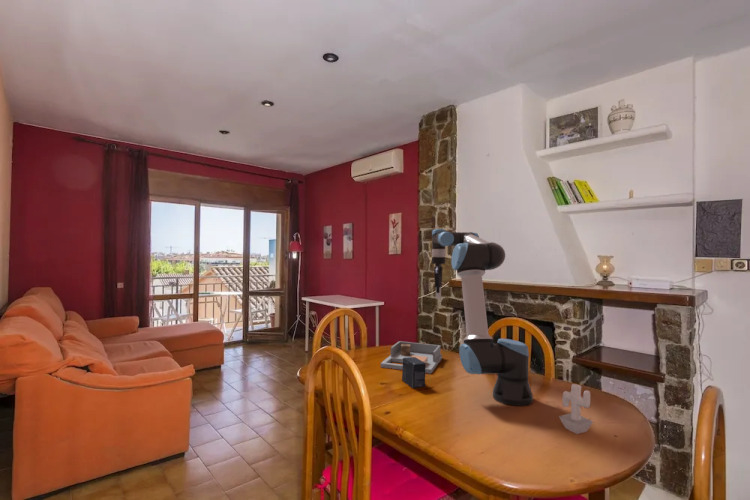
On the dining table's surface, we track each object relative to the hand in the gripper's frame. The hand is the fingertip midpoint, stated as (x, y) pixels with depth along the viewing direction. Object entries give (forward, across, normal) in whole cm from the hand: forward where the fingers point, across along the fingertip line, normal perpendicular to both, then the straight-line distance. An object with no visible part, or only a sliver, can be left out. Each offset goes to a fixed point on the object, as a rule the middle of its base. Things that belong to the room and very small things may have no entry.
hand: (438, 298), depth 208 cm
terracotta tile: (+31, +25, -5) cm, 40 cm away
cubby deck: (+33, +17, -10) cm, 38 cm away
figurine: (+33, +68, +60) cm, 96 cm away
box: (+33, +47, -1) cm, 57 cm away
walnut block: (+31, +10, -16) cm, 36 cm away
